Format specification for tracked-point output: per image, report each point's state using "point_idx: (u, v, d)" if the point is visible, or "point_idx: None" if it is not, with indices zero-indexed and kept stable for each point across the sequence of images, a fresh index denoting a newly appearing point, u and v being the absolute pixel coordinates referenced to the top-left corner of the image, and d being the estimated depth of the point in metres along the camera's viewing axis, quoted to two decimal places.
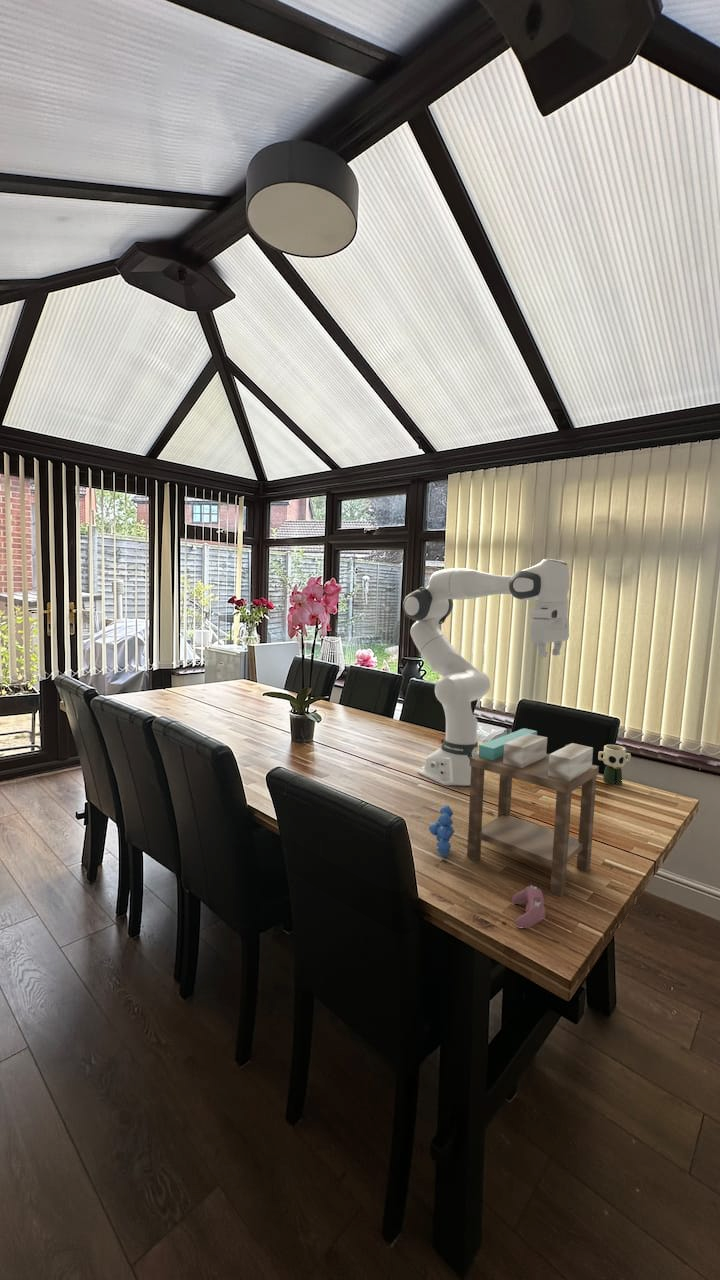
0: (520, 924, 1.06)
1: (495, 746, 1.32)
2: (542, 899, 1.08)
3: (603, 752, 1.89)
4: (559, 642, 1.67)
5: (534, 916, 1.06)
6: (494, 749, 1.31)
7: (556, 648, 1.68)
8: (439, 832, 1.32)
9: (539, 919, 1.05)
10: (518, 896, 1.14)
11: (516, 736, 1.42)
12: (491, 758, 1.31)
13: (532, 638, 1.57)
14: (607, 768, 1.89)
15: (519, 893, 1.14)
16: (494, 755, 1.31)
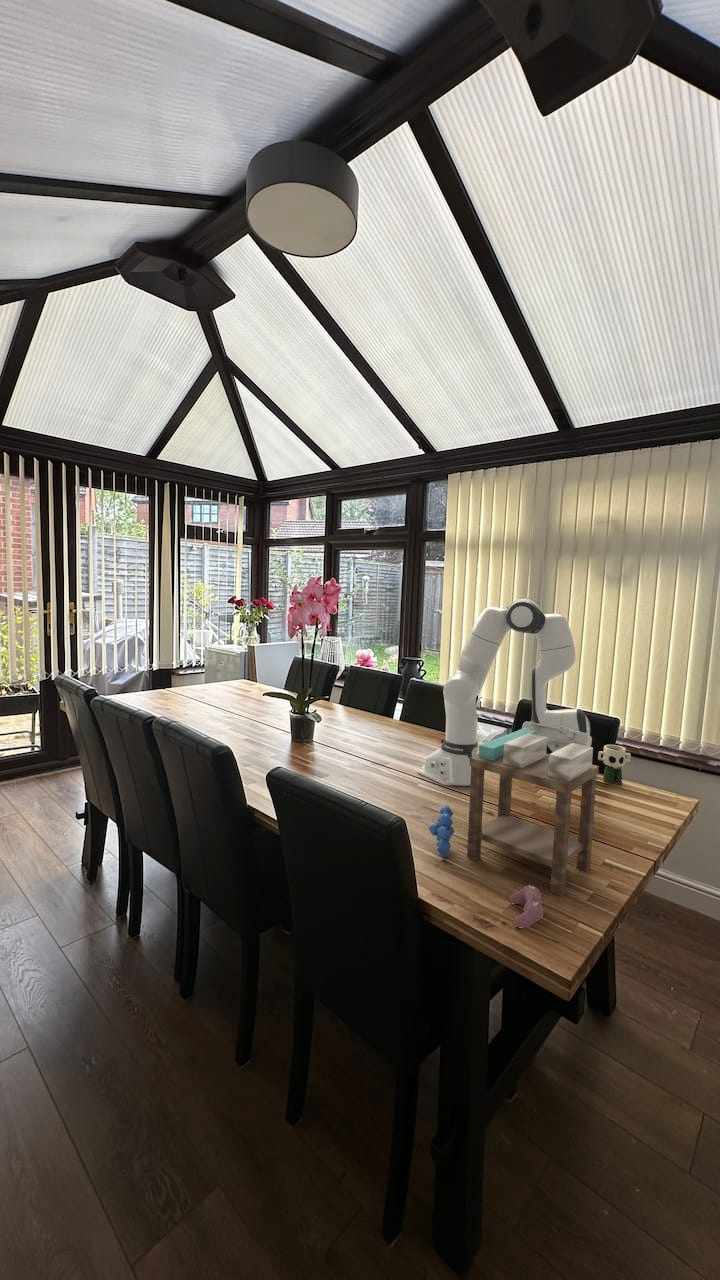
0: (518, 924, 1.06)
1: (495, 746, 1.32)
2: (540, 899, 1.08)
3: (603, 752, 1.89)
4: None
5: (532, 915, 1.06)
6: (494, 749, 1.31)
7: None
8: (439, 832, 1.32)
9: (537, 918, 1.05)
10: (516, 896, 1.14)
11: (516, 736, 1.42)
12: (491, 758, 1.31)
13: (588, 736, 1.54)
14: (607, 768, 1.89)
15: (517, 893, 1.14)
16: (494, 755, 1.31)
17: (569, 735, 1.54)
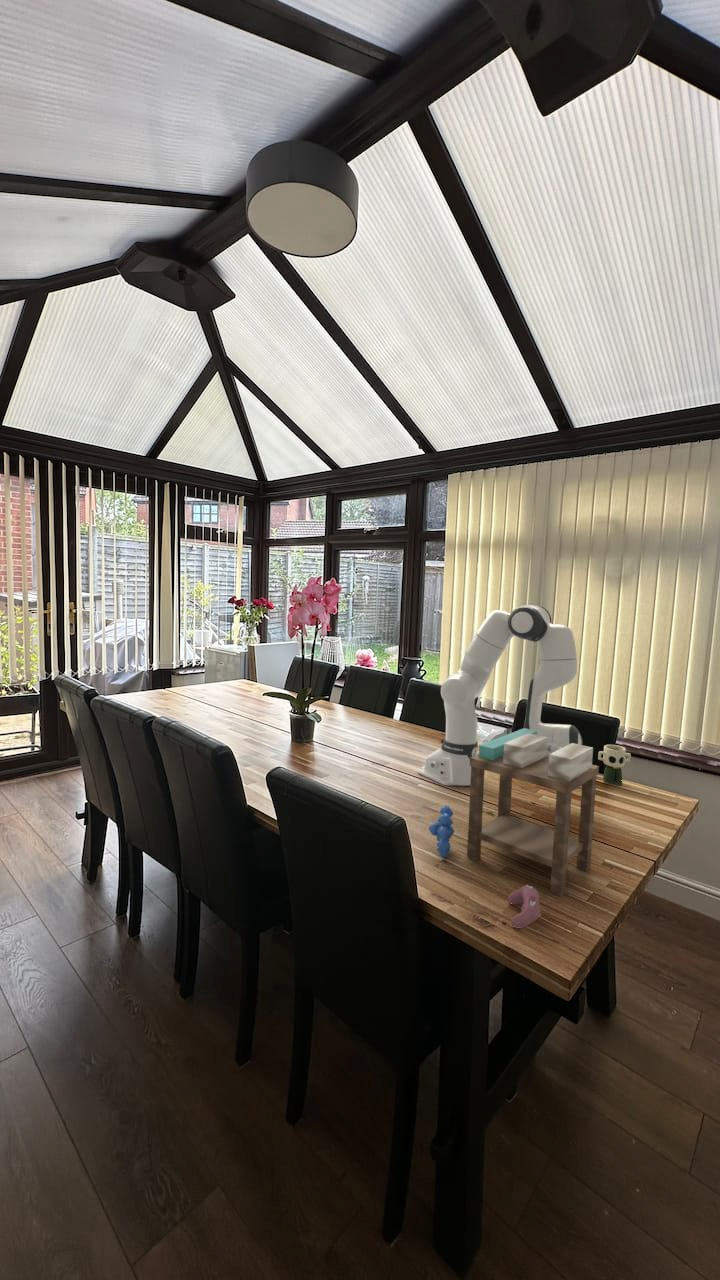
0: (515, 923, 1.06)
1: (495, 746, 1.32)
2: (538, 899, 1.08)
3: (603, 752, 1.89)
4: None
5: (529, 915, 1.06)
6: (494, 749, 1.31)
7: None
8: (439, 832, 1.32)
9: (535, 918, 1.06)
10: (514, 895, 1.14)
11: (516, 736, 1.42)
12: (491, 758, 1.31)
13: None
14: (607, 768, 1.89)
15: (515, 892, 1.14)
16: (494, 755, 1.31)
17: None
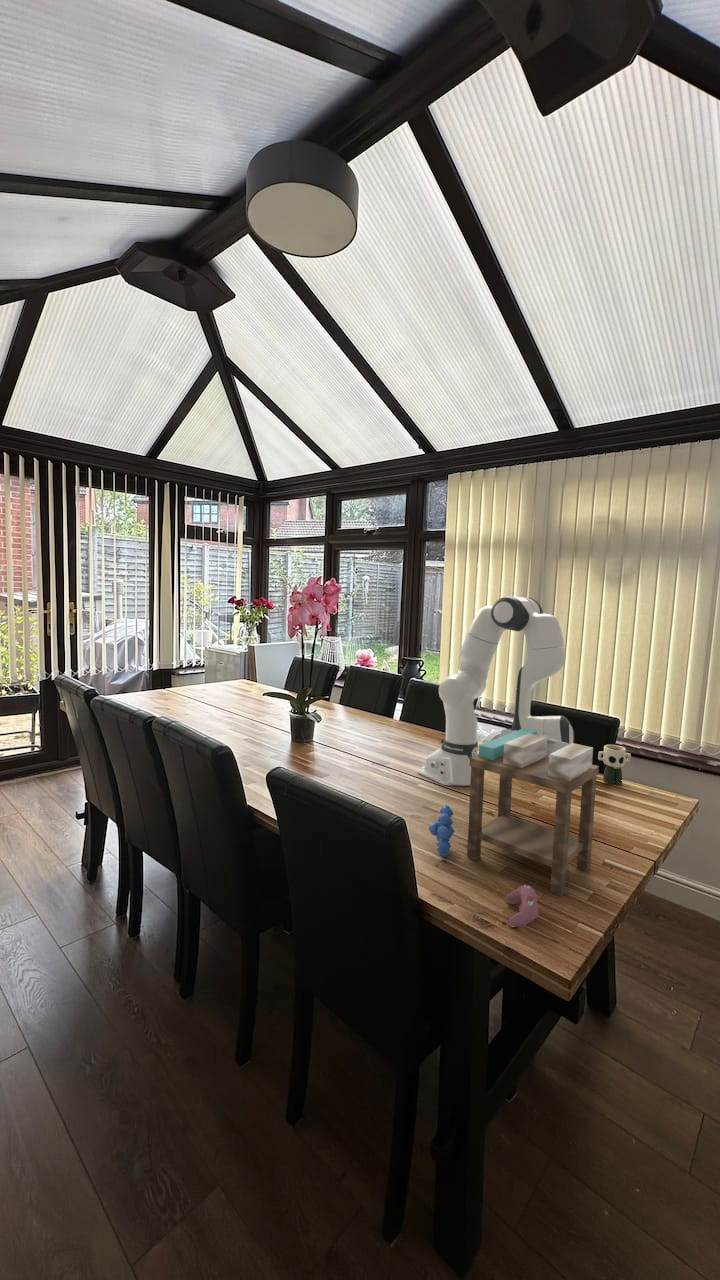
0: (513, 923, 1.06)
1: (495, 746, 1.32)
2: (535, 898, 1.08)
3: (603, 752, 1.89)
4: None
5: (527, 915, 1.06)
6: (494, 749, 1.31)
7: None
8: (439, 832, 1.32)
9: (532, 918, 1.06)
10: (511, 895, 1.14)
11: (516, 736, 1.42)
12: (491, 758, 1.31)
13: None
14: (607, 768, 1.89)
15: (512, 892, 1.15)
16: (494, 755, 1.31)
17: None
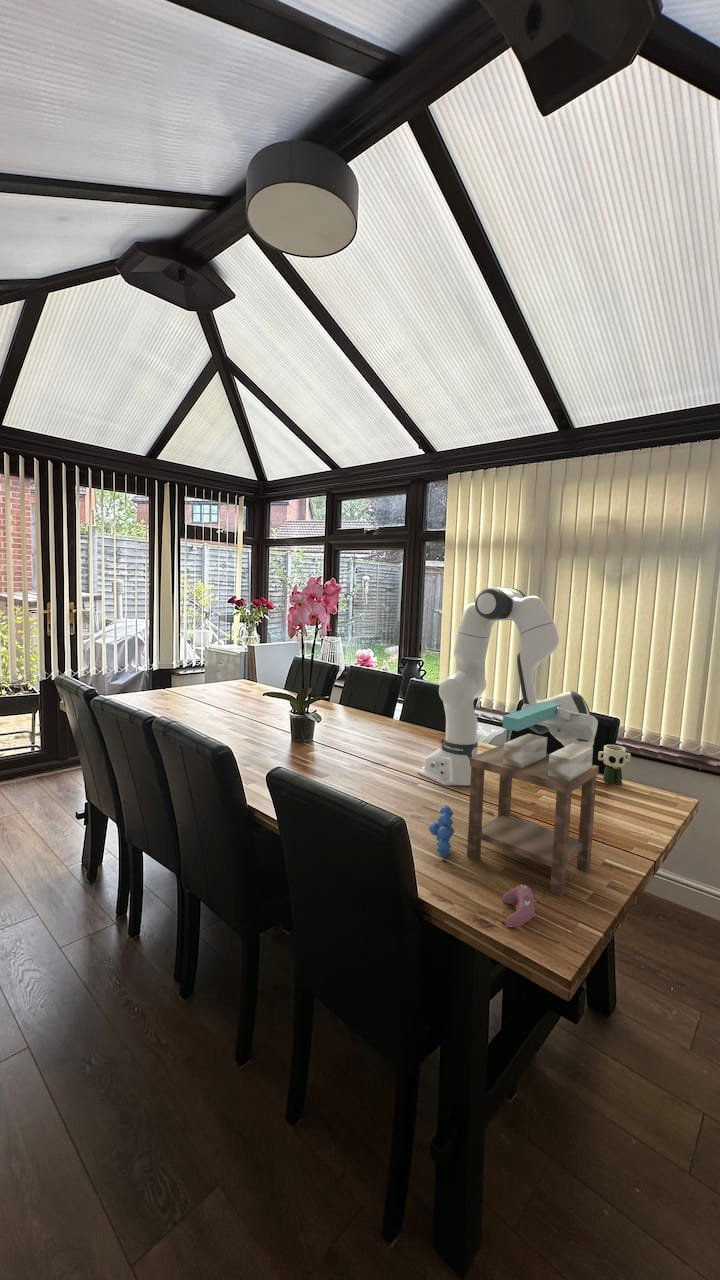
0: (510, 923, 1.06)
1: (519, 717, 1.27)
2: (532, 898, 1.08)
3: (603, 752, 1.89)
4: None
5: (524, 914, 1.06)
6: (519, 720, 1.26)
7: None
8: (439, 832, 1.32)
9: (529, 918, 1.06)
10: (508, 895, 1.14)
11: (540, 708, 1.37)
12: (516, 729, 1.26)
13: (593, 719, 1.39)
14: (607, 768, 1.89)
15: (509, 892, 1.15)
16: (518, 726, 1.26)
17: (565, 716, 1.41)
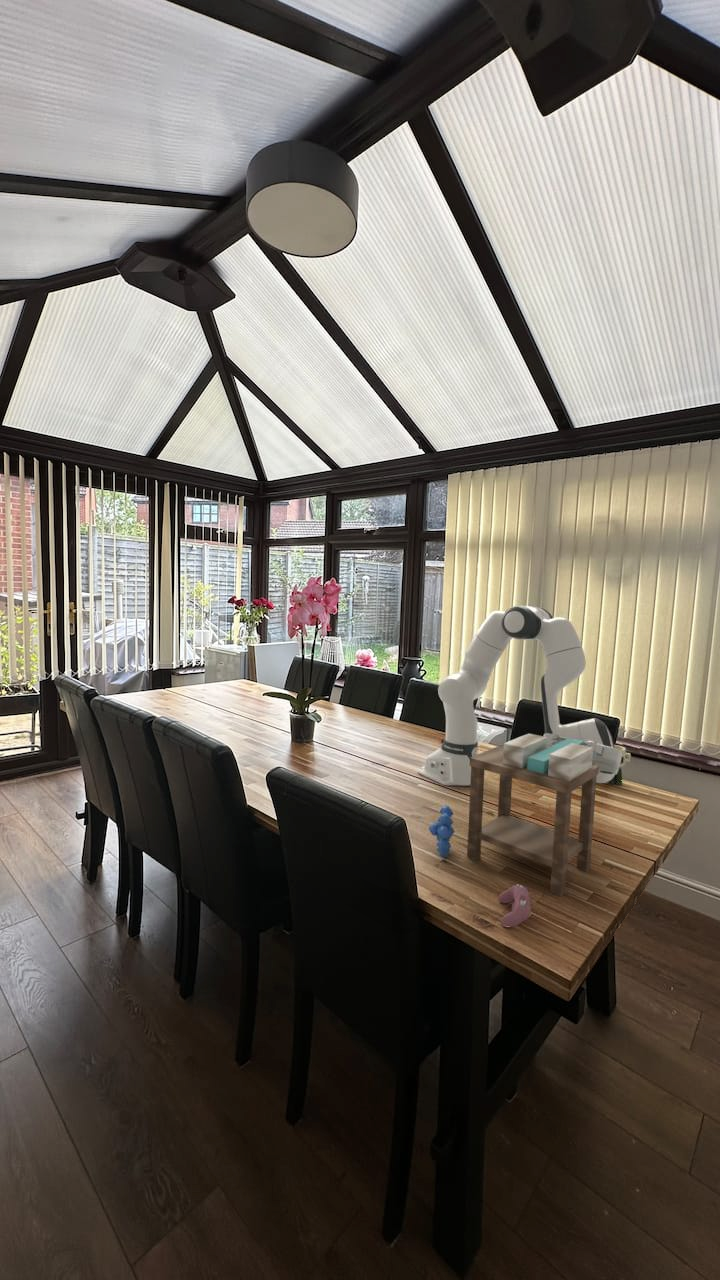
0: (506, 923, 1.07)
1: (545, 759, 1.23)
2: (528, 898, 1.08)
3: None
4: (556, 743, 1.44)
5: (520, 914, 1.06)
6: (545, 762, 1.22)
7: None
8: (439, 832, 1.32)
9: (525, 917, 1.06)
10: (504, 895, 1.15)
11: None
12: (541, 771, 1.22)
13: (619, 752, 1.35)
14: None
15: (505, 892, 1.15)
16: (544, 769, 1.22)
17: (597, 750, 1.35)
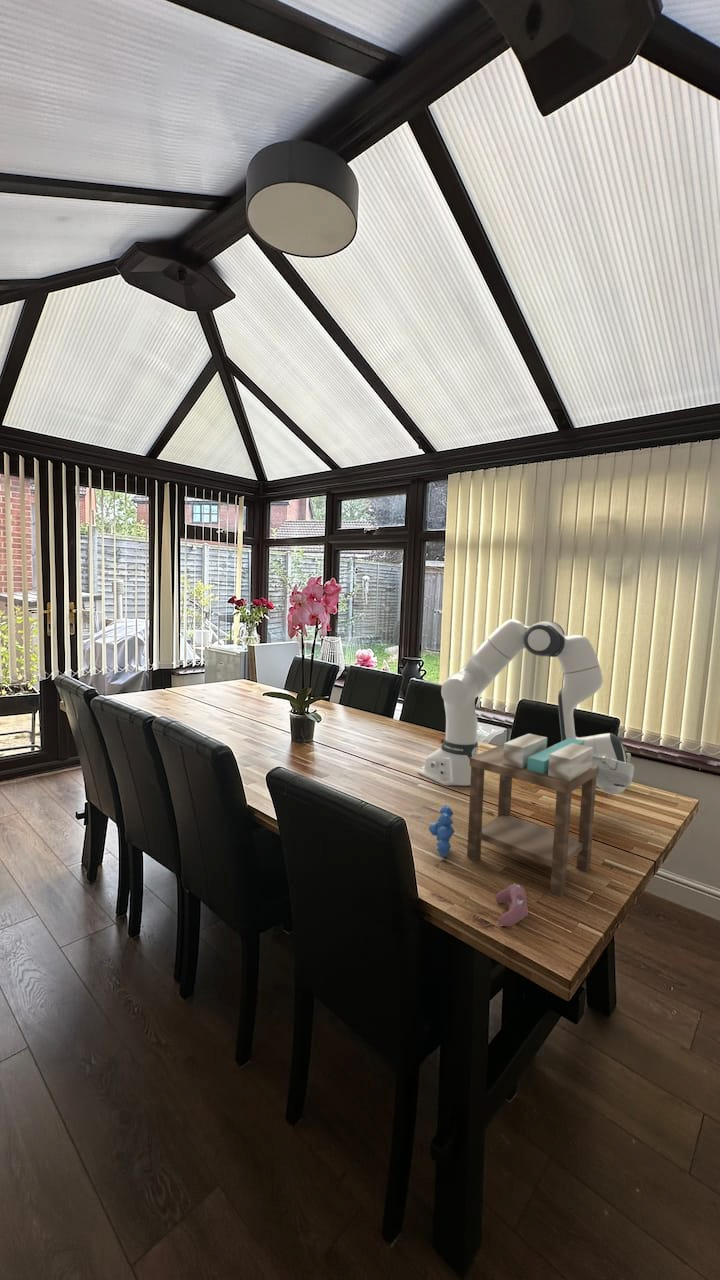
0: (502, 922, 1.07)
1: (545, 759, 1.23)
2: (525, 897, 1.08)
3: None
4: None
5: (516, 914, 1.06)
6: (545, 762, 1.22)
7: None
8: (439, 832, 1.32)
9: (522, 917, 1.06)
10: (501, 894, 1.15)
11: None
12: (541, 771, 1.22)
13: (631, 766, 1.44)
14: None
15: (502, 891, 1.15)
16: (544, 769, 1.22)
17: (612, 765, 1.44)
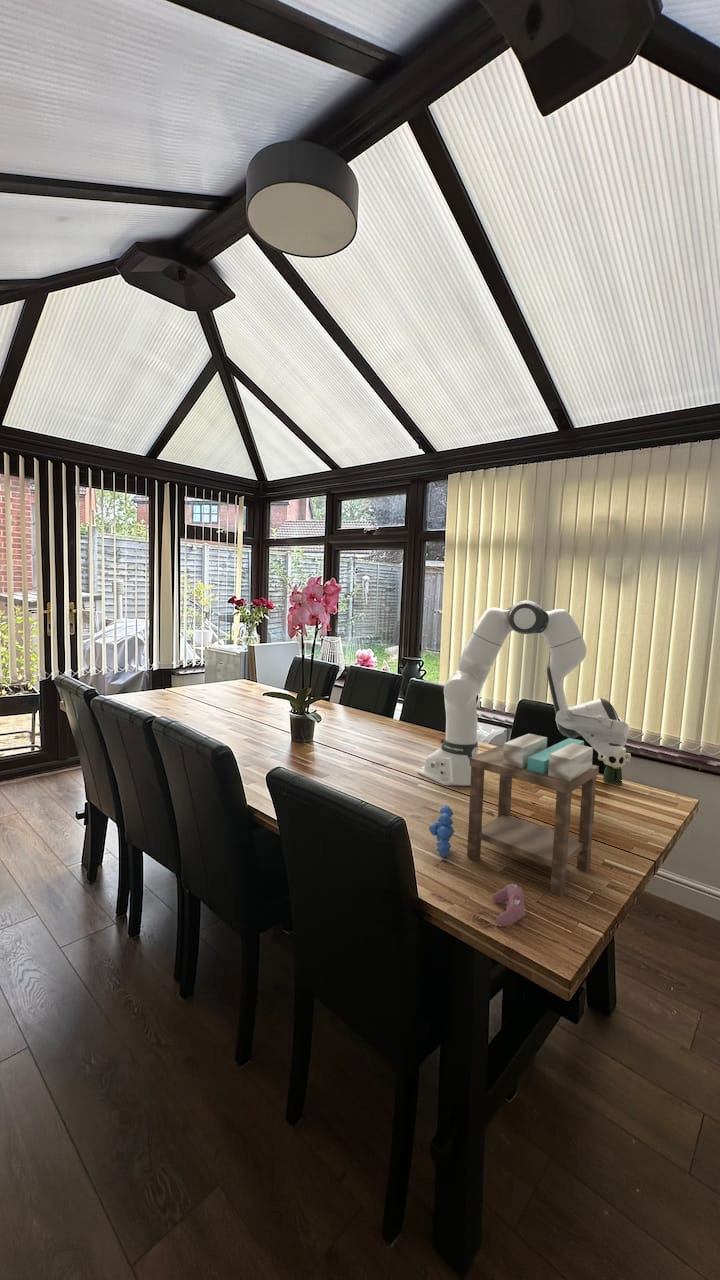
0: (500, 922, 1.07)
1: (545, 759, 1.23)
2: (522, 897, 1.09)
3: None
4: (569, 719, 1.59)
5: (514, 914, 1.06)
6: (545, 762, 1.22)
7: None
8: (439, 832, 1.32)
9: (519, 917, 1.06)
10: (499, 894, 1.15)
11: None
12: (541, 771, 1.22)
13: (626, 725, 1.51)
14: (607, 768, 1.89)
15: (500, 891, 1.15)
16: (544, 769, 1.22)
17: (607, 724, 1.51)
